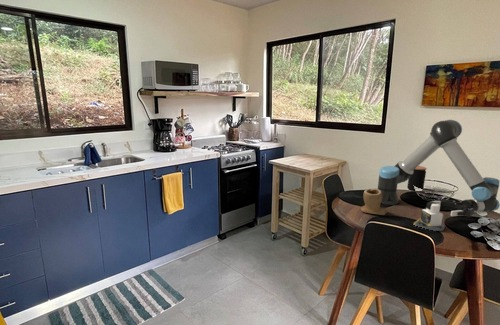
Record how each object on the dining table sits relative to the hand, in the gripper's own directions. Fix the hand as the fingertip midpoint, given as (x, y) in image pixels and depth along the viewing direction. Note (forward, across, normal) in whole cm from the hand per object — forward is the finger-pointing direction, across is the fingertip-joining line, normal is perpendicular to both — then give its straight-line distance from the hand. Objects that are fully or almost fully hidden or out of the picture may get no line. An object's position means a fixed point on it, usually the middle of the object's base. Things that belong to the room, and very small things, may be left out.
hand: (440, 208), depth 157 cm
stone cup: (+24, +22, -10) cm, 35 cm away
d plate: (+4, 0, -10) cm, 11 cm away
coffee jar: (-36, +56, -10) cm, 68 cm away
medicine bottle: (+4, 0, -9) cm, 10 cm away
